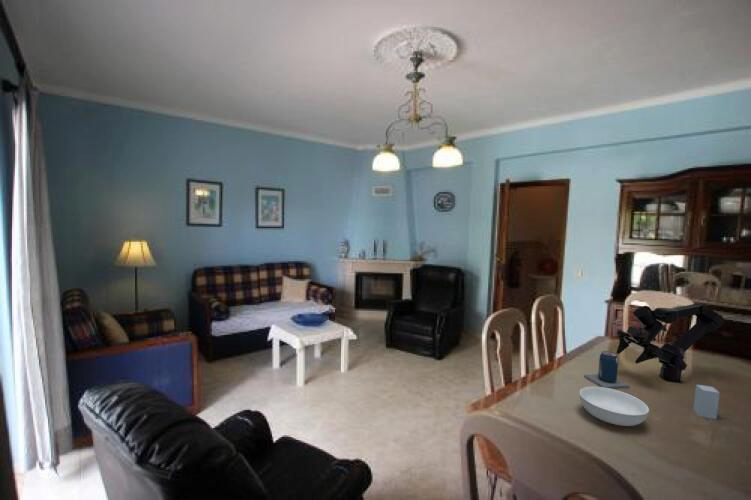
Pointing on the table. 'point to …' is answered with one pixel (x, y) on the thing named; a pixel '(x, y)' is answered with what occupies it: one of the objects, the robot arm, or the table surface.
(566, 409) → the table surface
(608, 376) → the soda can
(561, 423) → the table surface
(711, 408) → the gray block
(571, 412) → the table surface
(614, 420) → the serving bowl
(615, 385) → the mat
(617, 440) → the table surface
